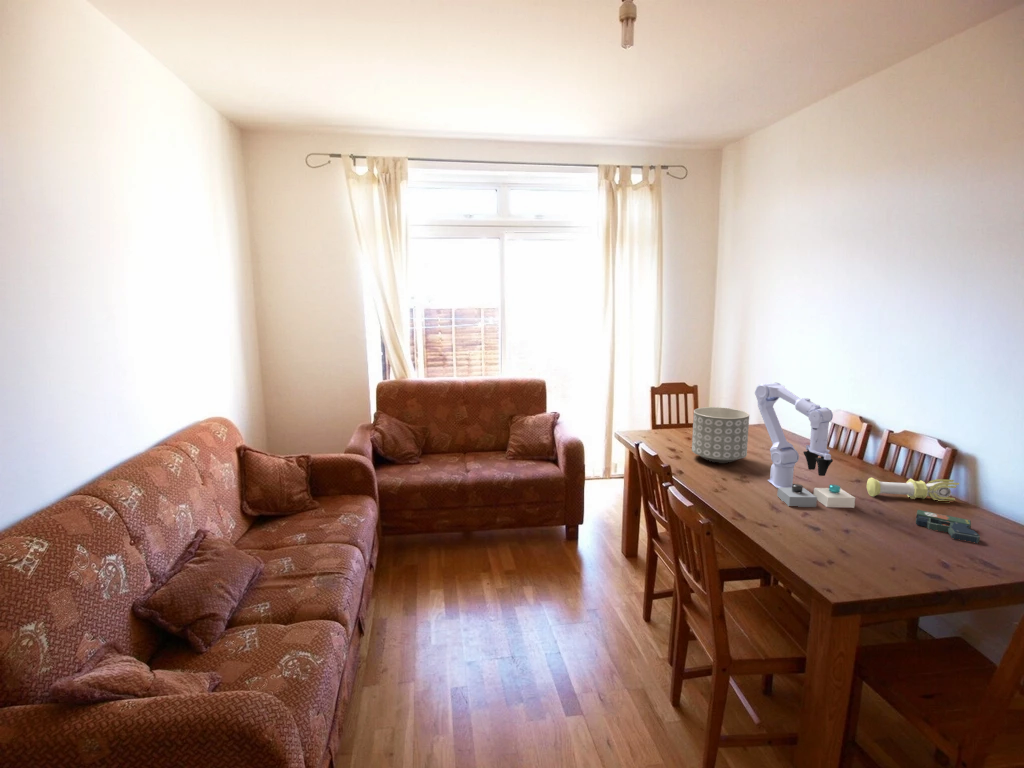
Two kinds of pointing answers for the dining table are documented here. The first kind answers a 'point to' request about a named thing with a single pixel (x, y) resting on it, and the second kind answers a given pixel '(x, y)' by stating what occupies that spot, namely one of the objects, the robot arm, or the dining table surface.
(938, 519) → the gun
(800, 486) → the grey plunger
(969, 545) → the dining table surface
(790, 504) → the grey block
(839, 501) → the cream block
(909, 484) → the yellow toy scepter
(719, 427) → the planter
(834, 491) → the teal round knob
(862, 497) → the dining table surface
